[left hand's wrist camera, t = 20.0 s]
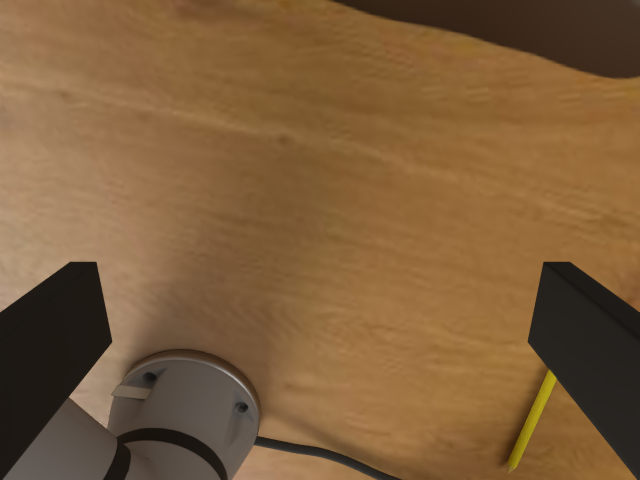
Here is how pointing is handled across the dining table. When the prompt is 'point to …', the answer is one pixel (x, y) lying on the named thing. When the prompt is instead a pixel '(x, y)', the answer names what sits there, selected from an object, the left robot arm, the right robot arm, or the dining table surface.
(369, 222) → the dining table surface
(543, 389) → the pencil
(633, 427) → the left robot arm
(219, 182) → the dining table surface
